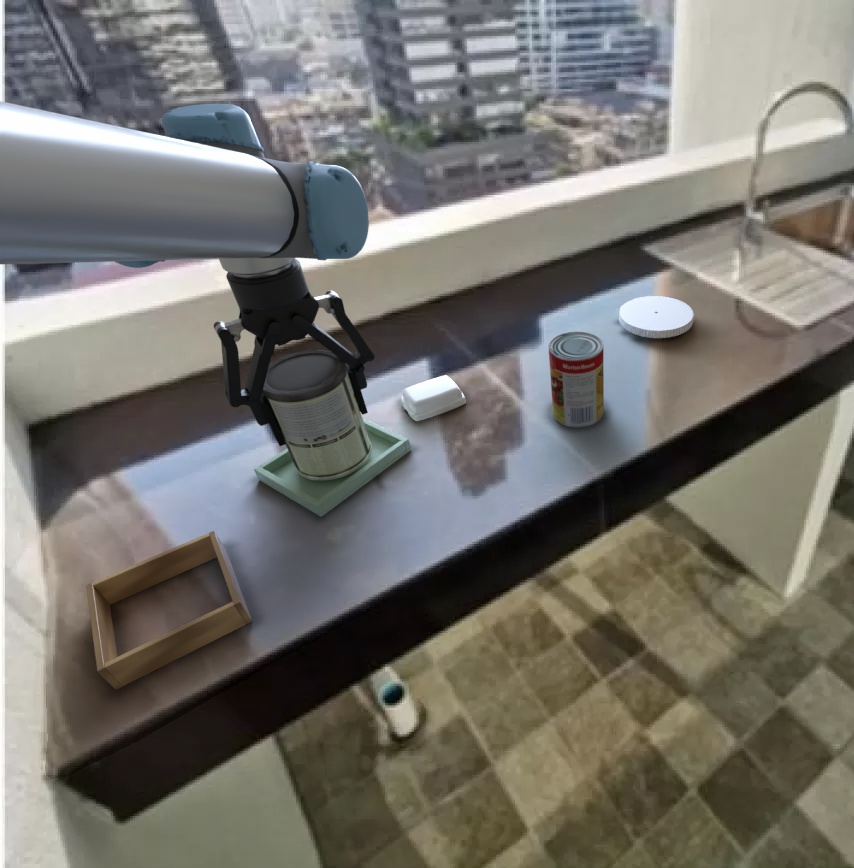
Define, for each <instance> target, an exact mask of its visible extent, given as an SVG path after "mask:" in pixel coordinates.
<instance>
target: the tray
mask: <svg viewBox="0 0 854 868" xmlns="http://www.w3.org/2000/svg"><path fill="white" fill-rule="evenodd" d="M362 419H363V422H364V425H365V428H366V431H367V434H368V437H369V440H370V442H371V445H372V452H371V455H370V457H369V459H368V460H367V462H365V464H363V465H362V466H361V467H360V468H359V469H357V470H356V471H354V472H352V473H350V474H348V475H346V476H344V477H341V478H337V479H333V480H326V481H316V480H310V479H307V478H304V477H303V476H301V475H300V474H299V473H298V472H297V470H296V468H295V465H294V462H293V460H292V458H291V456H290V454H289V451H288V449H287V448H285V449H284V450H281V452H279V453H277V454H276V455H273V456H272V457H271V458H270V459H267V460H266V461H265V462H263V463H262V464H260V465H258V466H256V467H254V469H253V471H254V473H255V475H256V477H257V479H258V480H259V481H260V482H262V483H263V484H265V485H267V486H269V487H270V488H272V489H273V490H275V491H277V492H279V493H280V494H281V495H283V496H285V497H287V498H288V499H290V500H292V501H293V502H295V503H297V504H299V505H300V506H302V507H303V508H305V509H307V510H309V511H310V512H312V513H314V514H315V515H317V516H319V517H320V518H322V517H324V516H325V515H326V514H328V513H329V512H330V511H332V510H333V509H334V508H336V507H337V506H338V505H340V504H341V503H342V502H344V501H345V500H346V499H348V498H349V497H350V496H352V495H353V494H354V493H356V492H357V491H358V490H360V489H362V487H364V486H365V485H366V484H368V483H370V482H371V481H372V480H373V479H374V478H376V477H377V476H379V475H380V474H382V473H383V472H384V471H385V470H386V469H388V468H389V467H391V466H392V465H393V464H394V463H396V462H397V461H398V460H400V459H401V458H402V457H404V456H405V455H406V454H408V453H409V452H410V451H412V447H411V446H412V445H411V443H410V439H409V438H407V437H405V436H403V435H400V434H398V433H396V432H394V431H392V430H391V429H389V428H385V427H383V426H381V425H379V424H377V423H375V422H373V421H371V420H369V419H366V418H365V417H362Z"/></svg>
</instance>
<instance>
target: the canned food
mask: <svg viewBox="0 0 854 868" xmlns="http://www.w3.org/2000/svg"><path fill="white" fill-rule="evenodd" d="M548 360H549V371H550V372H549V374H550V389H551V390H550V391H551V402H552V415H553V418H554V419H555V421H557V422H558V423H559V424H560V425H563V426H565V427H570V428H576V429H577V428H579V429H580V428H585V427H591V426H593V425H595V424H596V423H598V422H599V421H600V420H601V419H602V417H603V416H604V412H605V411H604V409H605V408H604V407H605V405H604V394H605V393H604V391H605V389H604V379H605V377H604V373H605V372H604V342H603V340H602V339H601V338H600V337H599V336H597V335H595V334H593V333H591V332H586V331H568V332H563V333H561V334H558V335H556V336H554V337H553V338H552V339H551V340H550V341H549V343H548Z"/></svg>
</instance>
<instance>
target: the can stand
mask: <svg viewBox="0 0 854 868" xmlns="http://www.w3.org/2000/svg"><path fill="white" fill-rule="evenodd" d="M215 559H217V561H218V564H219V566H220V570H221V573H222V575H223V577H224V580H225V584H226V586H227V589H228V592H229V595H230V597H231V602H228V603H227V604H225V605H222V606H220V607H218V608H215V609H214V610H211V611H209V612H208V613H205V614H204V615H202V616H199V617H197V618H195V619H193V620H192V621H189V622H187V623H185V624H183V625H181V626H179V627H177V628H175V629H173V630H171V631H168V632H166V633H164V634H162V635H160V636H158V637H155V638H154V639H152V640H149V641H148V642H146V643H143V644H142V645H141V644H140V645H139V646H137V647H135V648H133V649H131V650H129V651H127V652H125V653H122V654H120V655H118V649H117V642H116V636H115V630H114V624H113V623H114V622H113V618H112V612H111V605H113V604H115V603H117V602H119V601H122V600H124V599H126V598H128V597H131V596H133V595H135V594H137V593H140V592H142V591H144V590H147V589H150V588H151V587H153V586H157V585H158V584H160V583H163V582H165V581H167V580H169V579H172V578H173V577H176V576H178V575H181V574H182V573H186V572H187V571H190V570H192V569H194V568H196V567H198V566H200V565H203V564H206V563H208V562H209V561H212V560H215ZM85 588H86V595H87V603H88V611H89V618H90V627H91V633H92V634H91V635H92V641H93V648H94V657H95V664H96V672H97V673H98V674H99V675H100V676H101V677H102V678H103V679H104V680H105V681H107V683H108V684H109V685H110V686H111V687H112V688H113V689H114V690H116V691H117V690H119V689H121V688H123V687H125V686H127V685H129V684H131V683H133V682H135V681H137V680H139V679H141V678H143V677H145V676H147V675H149V674H152V672H154V671H157V670H159V669H161V668H162V667H165V666H167V665H169V664H171V663H173V662H175V661H176V660H179V659H180V658H182V657H185V656H186V655H189V654H190V653H192V652H194V651H197V650H199V649H201V648H202V647H204V646H206V645H208V644H210V643H213V642H215V641H216V640H219V639H220V638H223V637H224V636H226V635H228V634H230V633H232V632H234V631H237V630H238V629H240V628H243V627H244V626H246V625H248V624H251V623H252V622H253V620H252V615H251V613H250V611H249V609H248V605H247V603H246V600H245V597H244V595H243V593H242V589H241V586H240V585H239V581H238V578H237V576H236V572H235V571H234V568H233V566H232V562H231V560H230V557H229V554H228V552H227V549H226V548H225V546H224V544H223V543H222V541H221V539H220V538H219V536H218V535H217V533H216V531H215V530H212V531H210V532H207V533H205V534H203V535H200V536H198V537H196V538H194V539H191V540H188V541H186V542H184V543H181V544H179V545H178V546H175V547H172V548H170V549H168V550H167V549H166V550H165V551H162V552H161V553H158V554H156V555H154V556H151V557H149V558H146V559H144V560H141V561H139V562H137V563H135V564H132V565H130V566H128V567H125V568H123V569H119V570H118V571H115V572H113V573H111V574H109V575H107V576H104V577H102V578H99V579H97V580H95V581H93V582H90V583H87V584H86V585H85Z"/></svg>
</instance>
